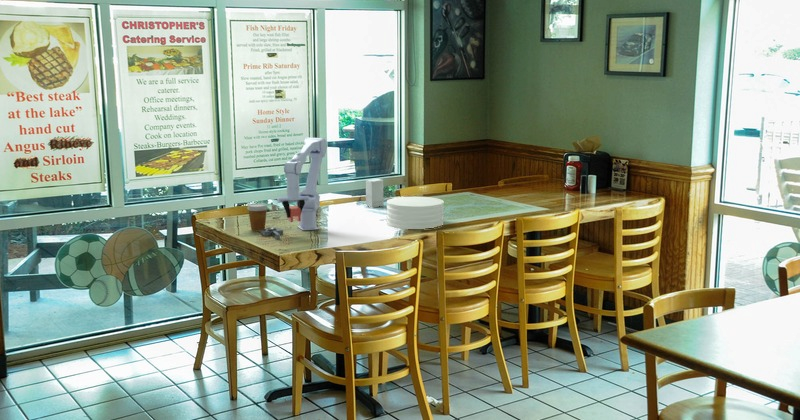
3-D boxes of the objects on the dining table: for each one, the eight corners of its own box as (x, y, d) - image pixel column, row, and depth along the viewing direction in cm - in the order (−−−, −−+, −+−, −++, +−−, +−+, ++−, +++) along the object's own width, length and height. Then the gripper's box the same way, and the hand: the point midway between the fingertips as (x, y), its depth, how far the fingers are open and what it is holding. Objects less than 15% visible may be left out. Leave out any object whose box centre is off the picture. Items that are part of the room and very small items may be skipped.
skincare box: (377, 204, 465) (377, 178, 462) (384, 206, 460) (384, 179, 457) (365, 206, 459) (365, 179, 457) (371, 208, 455) (371, 180, 452)
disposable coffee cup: (253, 232, 392) (252, 207, 389) (244, 229, 399) (243, 204, 397) (271, 230, 397) (271, 205, 395) (262, 227, 405) (261, 202, 402)
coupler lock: (287, 219, 388) (286, 206, 387) (296, 218, 390) (296, 205, 389) (290, 222, 382) (290, 209, 381) (300, 221, 384) (300, 208, 383)
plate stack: (450, 220, 422) (450, 198, 420) (433, 231, 396) (434, 207, 394) (398, 217, 431) (398, 195, 429) (378, 227, 405) (378, 204, 403)
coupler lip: (261, 233, 390) (260, 227, 390) (280, 231, 394) (279, 226, 393) (268, 240, 377) (268, 233, 376) (288, 238, 380) (287, 232, 379)
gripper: (279, 190, 377) (280, 219, 380) (310, 188, 382) (311, 217, 385) (275, 187, 383) (276, 216, 386) (306, 185, 389) (307, 214, 391)
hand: (293, 217), depth 386 cm, fingers closed on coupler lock, 5 cm apart
